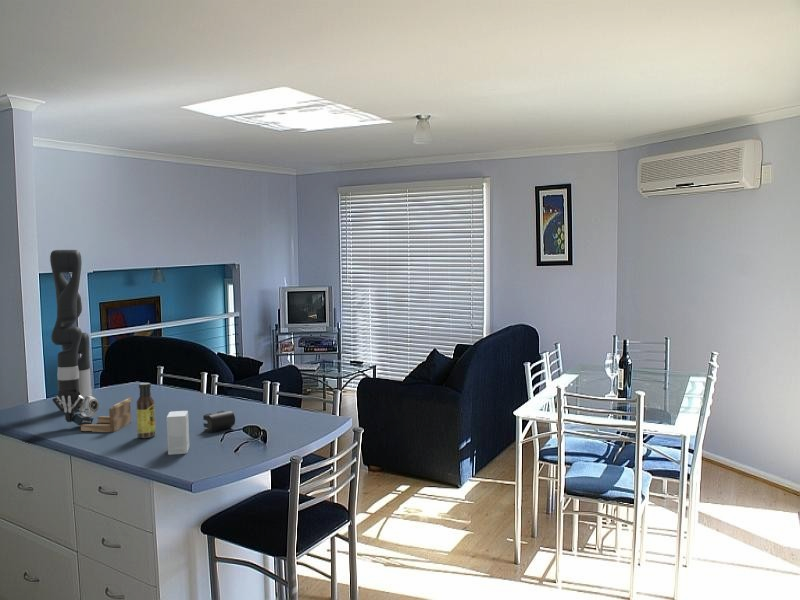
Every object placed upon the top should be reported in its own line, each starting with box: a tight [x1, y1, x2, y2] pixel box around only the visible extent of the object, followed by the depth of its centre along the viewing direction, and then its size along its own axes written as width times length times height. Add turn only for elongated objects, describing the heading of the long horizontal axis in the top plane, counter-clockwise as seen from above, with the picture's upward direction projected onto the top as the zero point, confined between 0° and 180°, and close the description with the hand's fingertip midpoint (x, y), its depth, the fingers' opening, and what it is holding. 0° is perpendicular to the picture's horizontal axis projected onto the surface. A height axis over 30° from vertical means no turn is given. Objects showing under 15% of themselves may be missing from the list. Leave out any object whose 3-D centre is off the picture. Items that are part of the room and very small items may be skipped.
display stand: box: [80, 397, 133, 433], centre depth 262 cm, size 14×14×10 cm
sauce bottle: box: [136, 382, 156, 439], centre depth 247 cm, size 6×6×20 cm
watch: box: [72, 395, 100, 426], centre depth 263 cm, size 6×8×11 cm
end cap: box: [202, 410, 236, 433], centre depth 256 cm, size 10×7×7 cm
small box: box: [165, 410, 190, 456], centre depth 230 cm, size 8×6×13 cm
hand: (69, 421), depth 262 cm, fingers closed
